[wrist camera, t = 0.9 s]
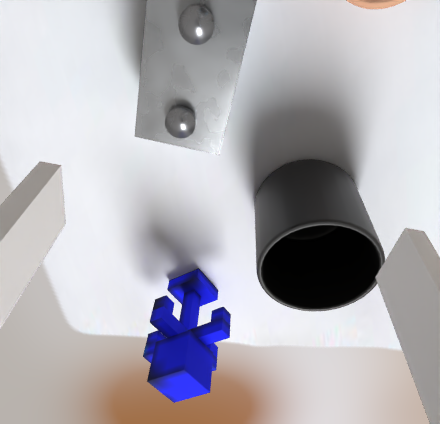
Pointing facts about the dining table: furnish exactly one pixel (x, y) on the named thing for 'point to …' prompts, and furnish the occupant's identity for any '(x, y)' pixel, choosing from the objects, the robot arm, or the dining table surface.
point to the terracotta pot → (375, 3)
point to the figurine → (185, 339)
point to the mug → (314, 238)
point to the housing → (191, 70)
